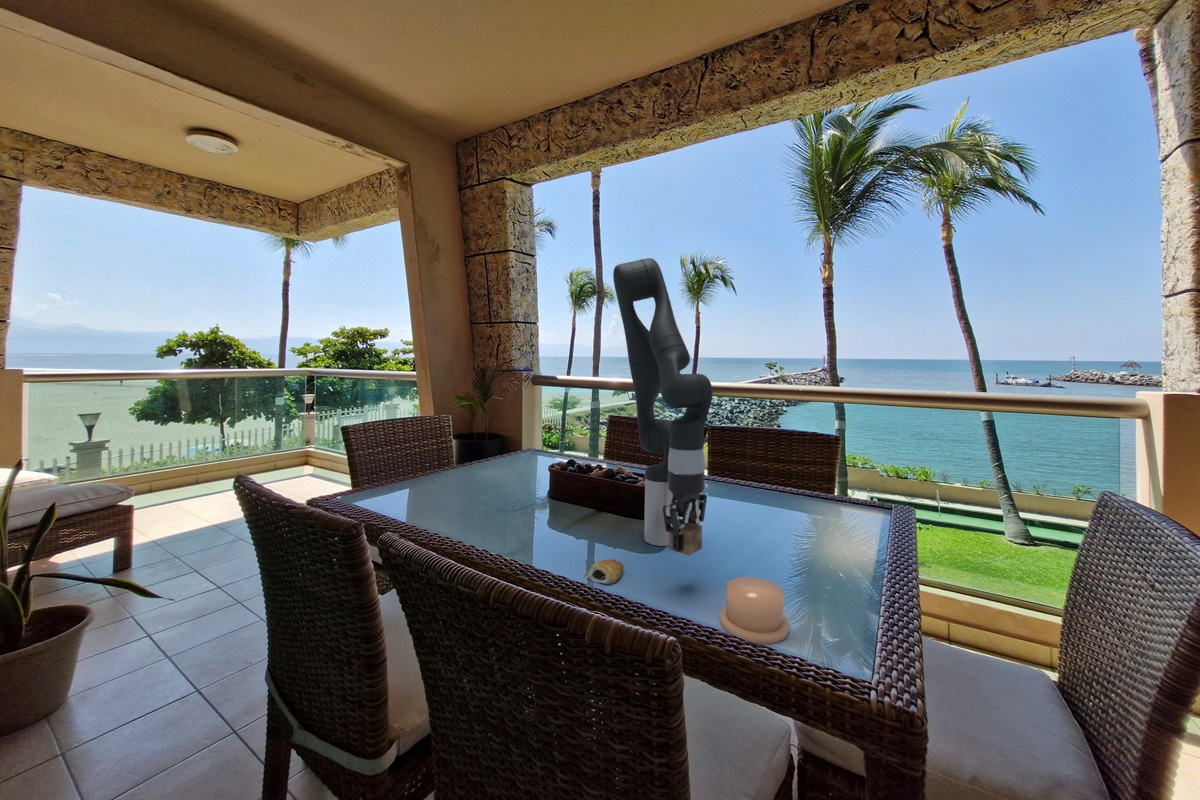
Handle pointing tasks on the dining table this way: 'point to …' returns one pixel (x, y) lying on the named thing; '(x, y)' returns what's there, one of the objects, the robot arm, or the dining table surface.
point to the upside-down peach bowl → (754, 611)
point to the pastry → (605, 571)
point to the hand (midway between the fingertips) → (685, 546)
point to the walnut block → (689, 538)
